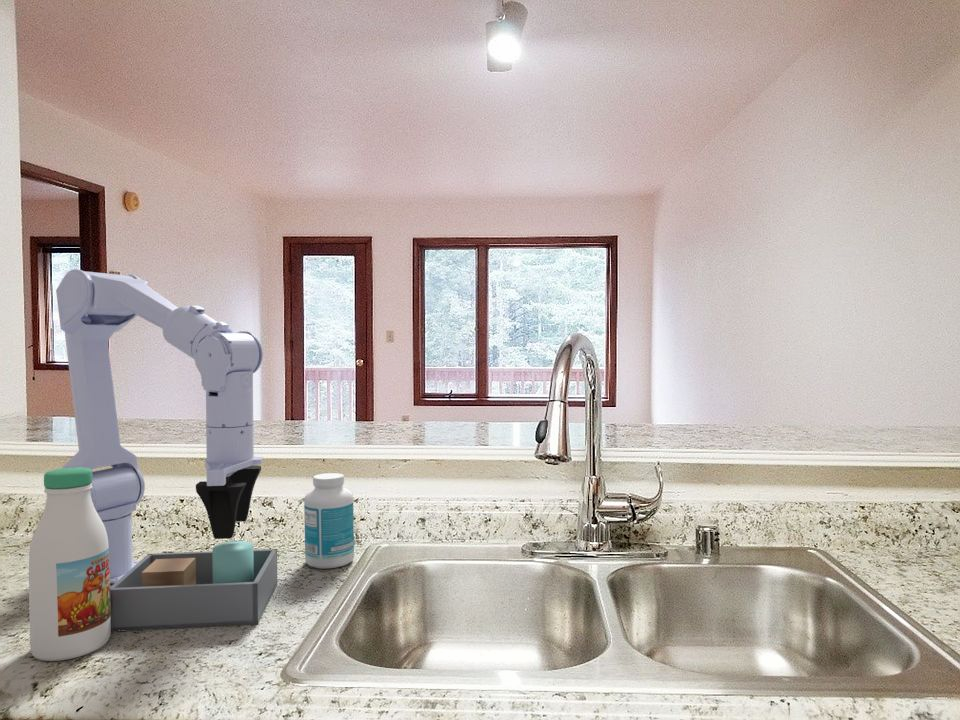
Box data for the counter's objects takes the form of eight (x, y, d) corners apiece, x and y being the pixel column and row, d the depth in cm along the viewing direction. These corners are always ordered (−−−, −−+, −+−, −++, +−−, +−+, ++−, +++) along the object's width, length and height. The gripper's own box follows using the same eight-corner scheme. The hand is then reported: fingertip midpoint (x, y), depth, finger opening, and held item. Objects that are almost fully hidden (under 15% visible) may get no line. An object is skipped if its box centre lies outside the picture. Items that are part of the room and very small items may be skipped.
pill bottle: (359, 555, 106) (359, 471, 105) (345, 571, 98) (345, 481, 98) (314, 553, 106) (313, 470, 106) (297, 569, 99) (296, 480, 99)
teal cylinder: (208, 608, 83) (208, 553, 83) (218, 593, 88) (217, 542, 88) (249, 606, 84) (249, 552, 84) (256, 592, 89) (256, 540, 89)
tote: (107, 631, 78) (106, 590, 78) (149, 589, 91) (148, 553, 91) (258, 624, 80) (257, 583, 80) (277, 583, 93) (277, 548, 93)
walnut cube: (142, 612, 82) (141, 572, 82) (156, 596, 87) (156, 559, 87) (184, 610, 83) (183, 570, 83) (196, 594, 88) (195, 557, 88)
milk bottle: (25, 669, 69) (21, 480, 68) (35, 639, 76) (31, 467, 75) (109, 653, 73) (106, 473, 72) (112, 626, 79) (109, 461, 79)
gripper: (249, 432, 79) (250, 545, 79) (272, 417, 93) (273, 513, 93) (187, 433, 78) (189, 547, 78) (220, 418, 92) (221, 514, 93)
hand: (231, 529), depth 86 cm, fingers open, 7 cm apart
